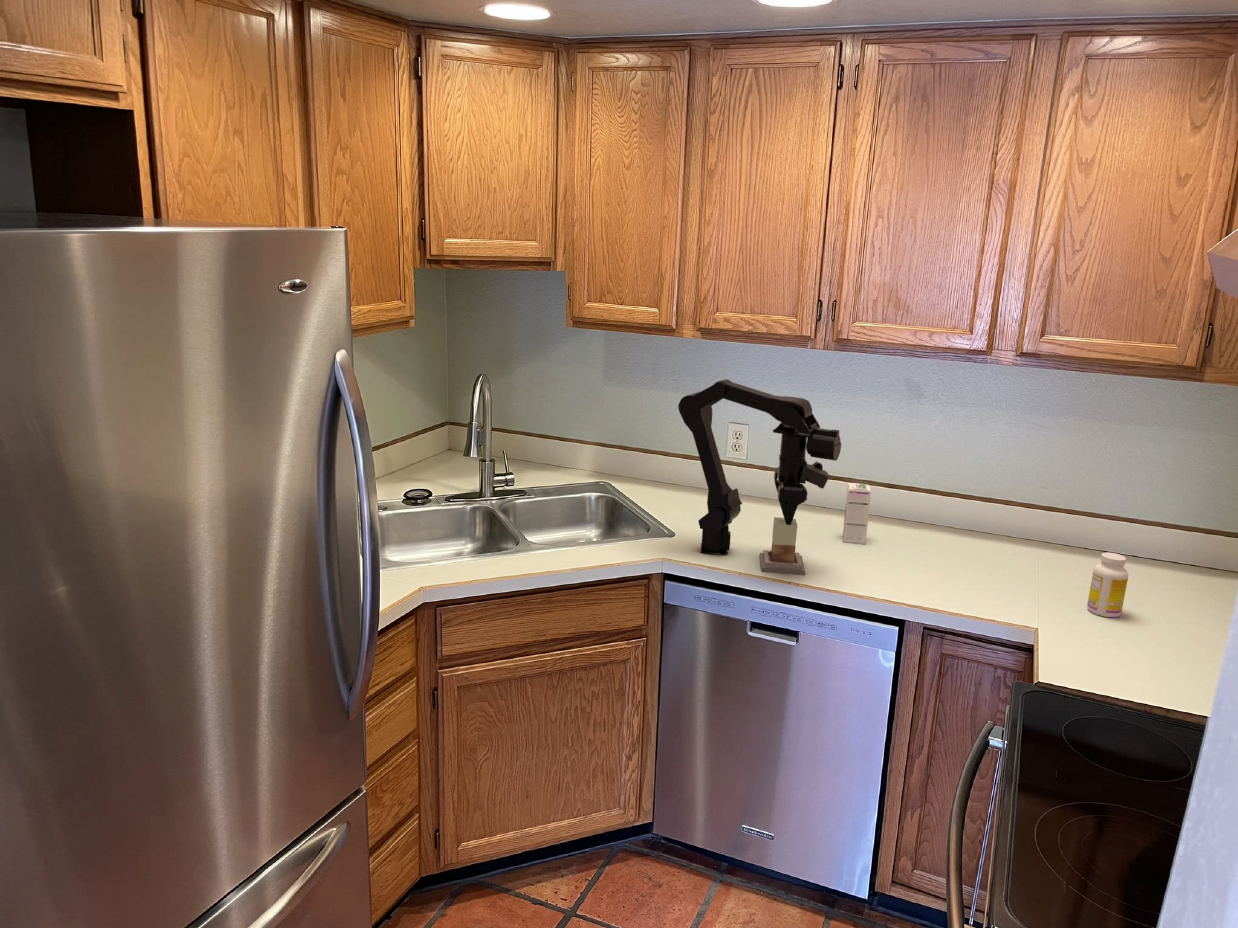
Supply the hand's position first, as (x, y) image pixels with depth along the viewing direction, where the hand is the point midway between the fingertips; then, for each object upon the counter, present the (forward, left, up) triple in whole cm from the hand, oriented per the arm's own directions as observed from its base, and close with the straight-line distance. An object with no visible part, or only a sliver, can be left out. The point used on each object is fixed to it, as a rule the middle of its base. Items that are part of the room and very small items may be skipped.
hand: (786, 518), depth 213 cm
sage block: (0, 0, -6) cm, 6 cm away
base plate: (0, 0, -12) cm, 12 cm away
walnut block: (0, 0, -11) cm, 11 cm away
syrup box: (+20, +23, -12) cm, 33 cm away
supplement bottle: (+68, -13, -12) cm, 70 cm away
